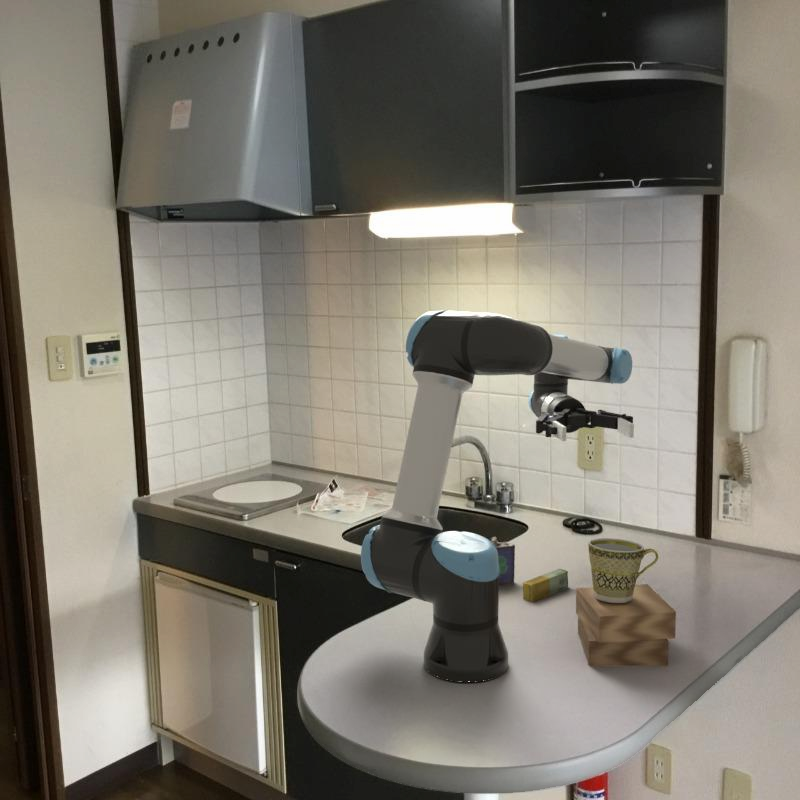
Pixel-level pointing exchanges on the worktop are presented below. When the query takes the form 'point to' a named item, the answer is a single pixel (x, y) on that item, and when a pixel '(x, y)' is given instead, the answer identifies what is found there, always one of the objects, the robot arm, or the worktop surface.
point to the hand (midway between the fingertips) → (598, 432)
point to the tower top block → (627, 616)
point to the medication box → (545, 585)
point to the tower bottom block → (623, 651)
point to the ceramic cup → (616, 568)
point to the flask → (505, 561)
